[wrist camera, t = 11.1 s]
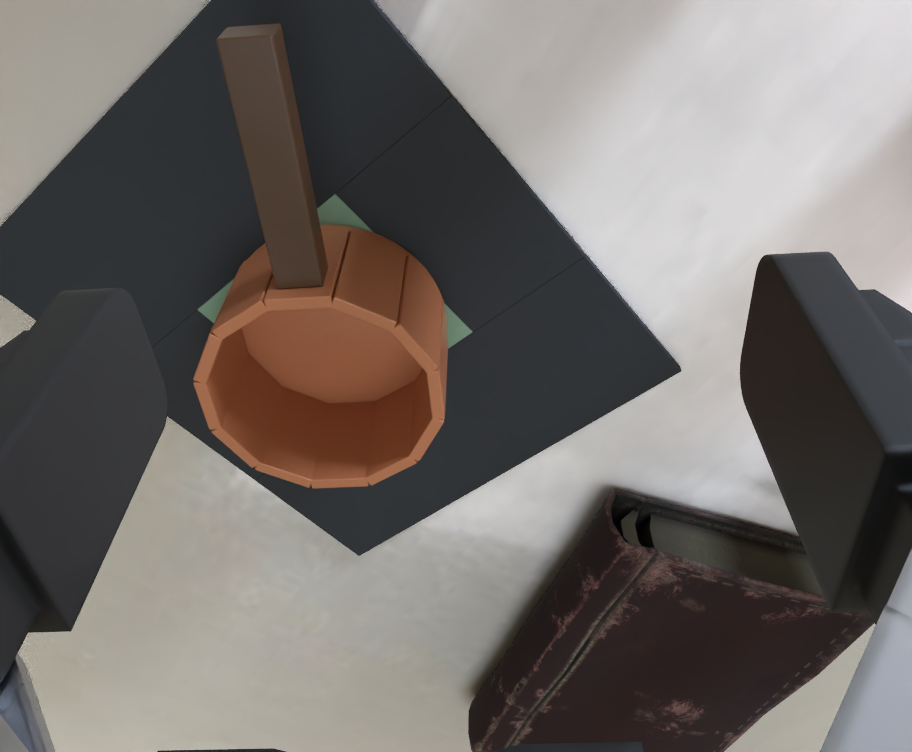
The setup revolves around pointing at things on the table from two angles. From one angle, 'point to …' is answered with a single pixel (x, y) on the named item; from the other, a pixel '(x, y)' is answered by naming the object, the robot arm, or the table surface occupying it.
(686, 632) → the diary
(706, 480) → the table surface
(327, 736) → the table surface
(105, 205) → the placemat
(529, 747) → the robot arm
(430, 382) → the saucepan
